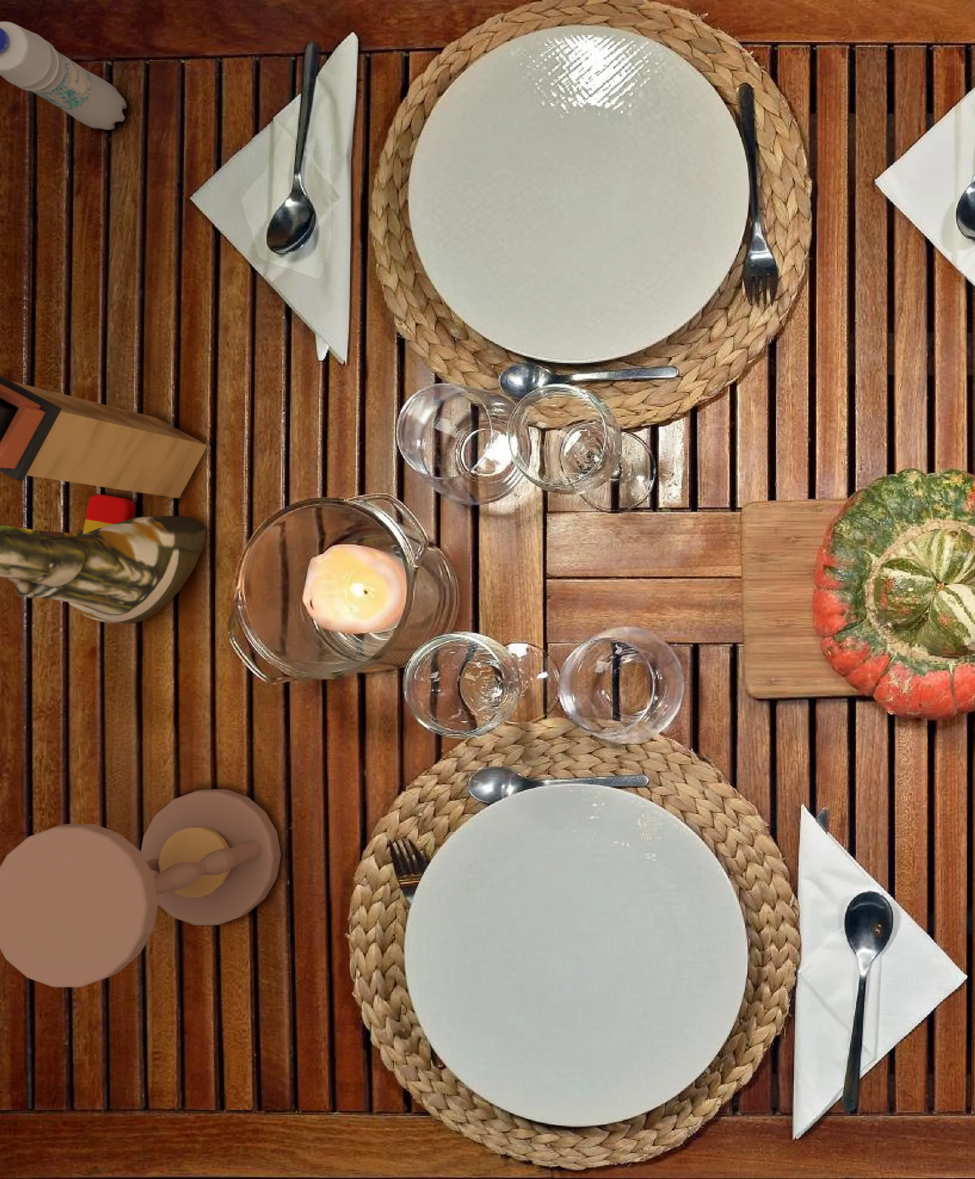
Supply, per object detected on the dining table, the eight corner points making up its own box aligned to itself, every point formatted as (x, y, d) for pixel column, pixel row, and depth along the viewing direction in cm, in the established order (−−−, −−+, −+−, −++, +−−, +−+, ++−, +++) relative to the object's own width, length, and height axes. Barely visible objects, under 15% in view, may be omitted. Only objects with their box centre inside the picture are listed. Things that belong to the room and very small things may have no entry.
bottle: (139, 128, 143) (12, 50, 123) (91, 142, 143) (-43, 65, 123) (126, 80, 143) (-2, -6, 123) (79, 94, 143) (-57, 10, 123)
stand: (127, 470, 142) (-42, 440, 117) (155, 417, 142) (-7, 376, 117) (179, 498, 142) (21, 474, 117) (207, 445, 142) (56, 410, 117)
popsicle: (139, 500, 142) (128, 499, 140) (119, 612, 142) (108, 612, 140) (99, 493, 142) (88, 492, 140) (79, 604, 142) (67, 604, 140)
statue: (174, 496, 142) (-68, 460, 107) (237, 547, 142) (15, 527, 107) (97, 594, 142) (-170, 590, 107) (160, 645, 142) (-88, 657, 107)
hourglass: (284, 790, 141) (148, 829, 116) (280, 923, 141) (142, 991, 116) (152, 786, 141) (-11, 824, 116) (147, 919, 141) (-18, 986, 116)
